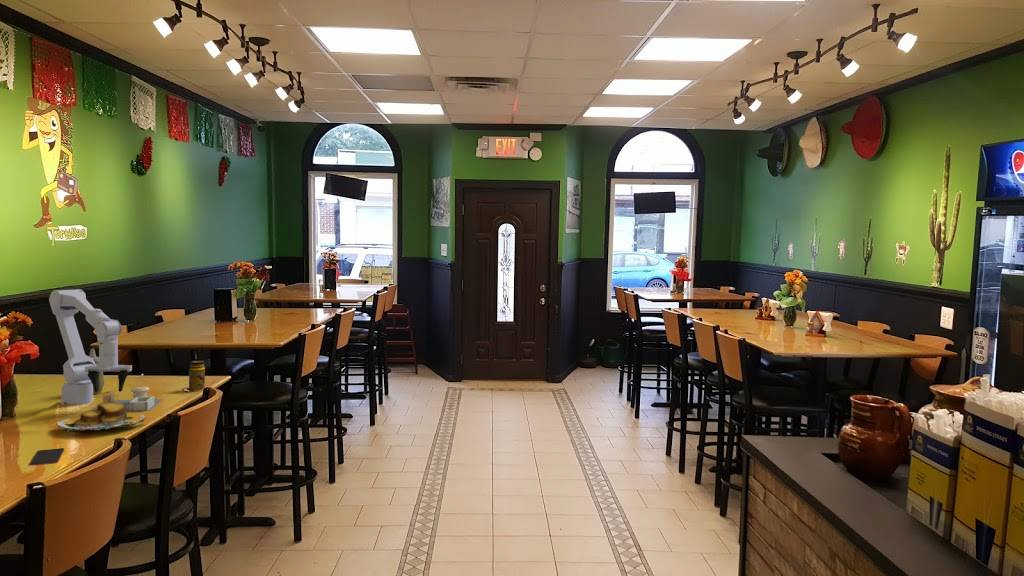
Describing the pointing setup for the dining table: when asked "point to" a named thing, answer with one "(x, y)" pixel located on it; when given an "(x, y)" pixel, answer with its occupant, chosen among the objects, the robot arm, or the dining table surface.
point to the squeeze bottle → (101, 377)
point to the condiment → (196, 376)
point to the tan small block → (108, 398)
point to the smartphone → (47, 456)
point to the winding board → (139, 400)
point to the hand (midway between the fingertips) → (108, 391)
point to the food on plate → (101, 418)
